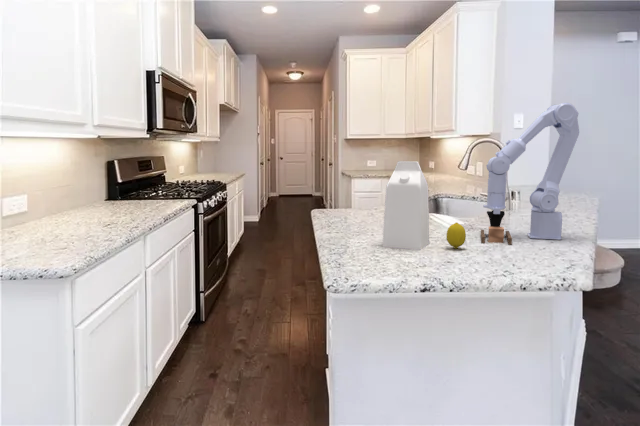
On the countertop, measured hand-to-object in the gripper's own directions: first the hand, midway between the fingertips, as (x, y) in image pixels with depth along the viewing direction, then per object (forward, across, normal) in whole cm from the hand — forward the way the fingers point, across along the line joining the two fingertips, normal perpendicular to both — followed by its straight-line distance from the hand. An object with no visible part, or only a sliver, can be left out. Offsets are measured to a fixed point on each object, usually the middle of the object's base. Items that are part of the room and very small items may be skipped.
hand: (494, 232), depth 164 cm
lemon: (+2, +24, -12) cm, 27 cm away
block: (+2, +8, 0) cm, 8 cm away
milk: (+2, +22, -27) cm, 35 cm away
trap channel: (+1, +6, 0) cm, 6 cm away
